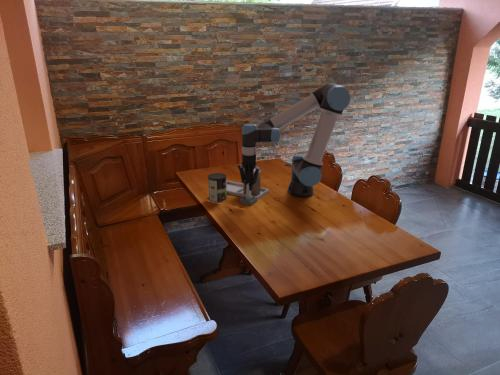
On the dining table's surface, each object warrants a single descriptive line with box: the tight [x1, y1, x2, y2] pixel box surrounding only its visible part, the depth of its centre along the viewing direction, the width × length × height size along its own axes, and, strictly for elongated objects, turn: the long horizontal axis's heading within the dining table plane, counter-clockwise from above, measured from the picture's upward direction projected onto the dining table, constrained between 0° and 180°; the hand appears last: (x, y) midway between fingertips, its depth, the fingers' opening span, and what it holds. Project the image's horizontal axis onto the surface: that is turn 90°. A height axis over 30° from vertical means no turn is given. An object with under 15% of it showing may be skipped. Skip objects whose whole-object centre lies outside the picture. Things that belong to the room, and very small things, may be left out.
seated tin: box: [242, 169, 262, 196], centre depth 211 cm, size 10×10×14 cm
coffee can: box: [207, 172, 228, 204], centre depth 205 cm, size 10×10×14 cm
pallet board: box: [226, 180, 270, 200], centre depth 217 cm, size 29×15×2 cm, turn 60°
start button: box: [245, 195, 253, 201], centre depth 201 cm, size 4×4×3 cm
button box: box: [239, 197, 259, 206], centre depth 202 cm, size 7×7×3 cm
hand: (248, 195), depth 201 cm, fingers closed
